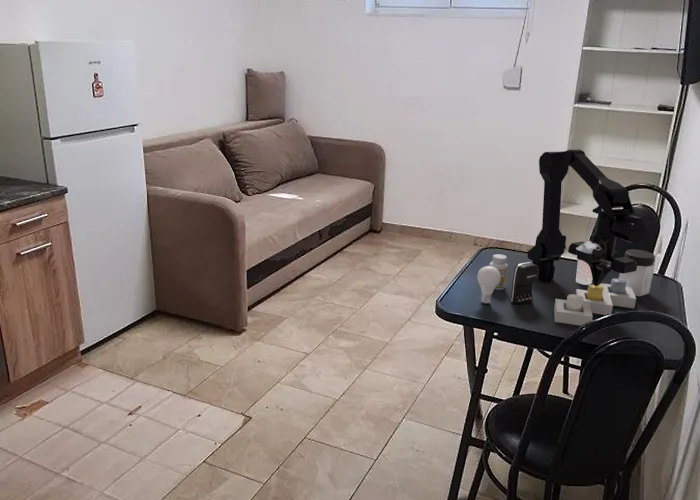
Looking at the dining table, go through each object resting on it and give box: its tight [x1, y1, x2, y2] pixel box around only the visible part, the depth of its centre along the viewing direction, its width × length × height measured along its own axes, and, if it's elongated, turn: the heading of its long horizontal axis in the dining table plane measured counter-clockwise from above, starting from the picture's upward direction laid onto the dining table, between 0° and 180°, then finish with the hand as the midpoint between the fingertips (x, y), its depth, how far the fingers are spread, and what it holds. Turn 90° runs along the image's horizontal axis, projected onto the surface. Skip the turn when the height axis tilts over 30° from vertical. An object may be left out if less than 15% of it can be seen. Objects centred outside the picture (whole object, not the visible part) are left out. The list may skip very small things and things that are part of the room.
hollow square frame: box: [574, 288, 614, 316], centre depth 174 cm, size 9×9×3 cm
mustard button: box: [586, 284, 604, 301], centre depth 174 cm, size 4×4×4 cm
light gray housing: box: [599, 282, 637, 309], centre depth 180 cm, size 9×9×3 cm
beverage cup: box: [575, 259, 593, 286], centre depth 191 cm, size 6×6×14 cm
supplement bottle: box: [488, 253, 509, 291], centre depth 184 cm, size 5×5×10 cm
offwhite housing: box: [553, 298, 593, 327], centre depth 167 cm, size 9×9×3 cm
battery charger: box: [509, 261, 539, 305], centre depth 174 cm, size 7×4×11 cm, turn 120°
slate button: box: [609, 278, 627, 294], centre depth 179 cm, size 4×4×4 cm
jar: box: [618, 249, 656, 297], centre depth 186 cm, size 9×8×12 cm
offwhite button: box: [565, 293, 583, 312], centre depth 166 cm, size 4×4×4 cm
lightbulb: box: [476, 265, 501, 305], centre depth 172 cm, size 6×6×11 cm
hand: (596, 285), depth 173 cm, fingers closed
